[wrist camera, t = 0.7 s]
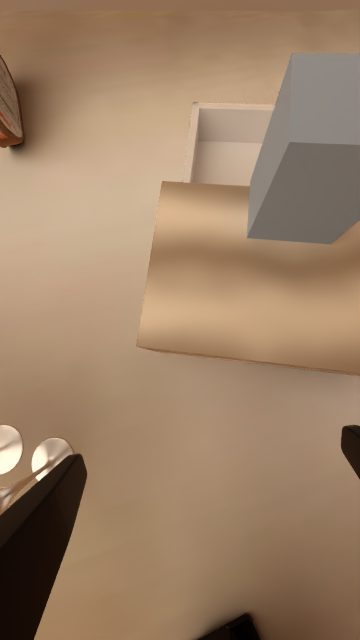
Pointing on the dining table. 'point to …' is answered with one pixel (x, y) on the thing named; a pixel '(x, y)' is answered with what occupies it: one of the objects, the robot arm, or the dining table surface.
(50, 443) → the goblet set
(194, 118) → the tray
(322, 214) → the block
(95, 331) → the dining table surface
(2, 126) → the tin
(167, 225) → the wood grain box
